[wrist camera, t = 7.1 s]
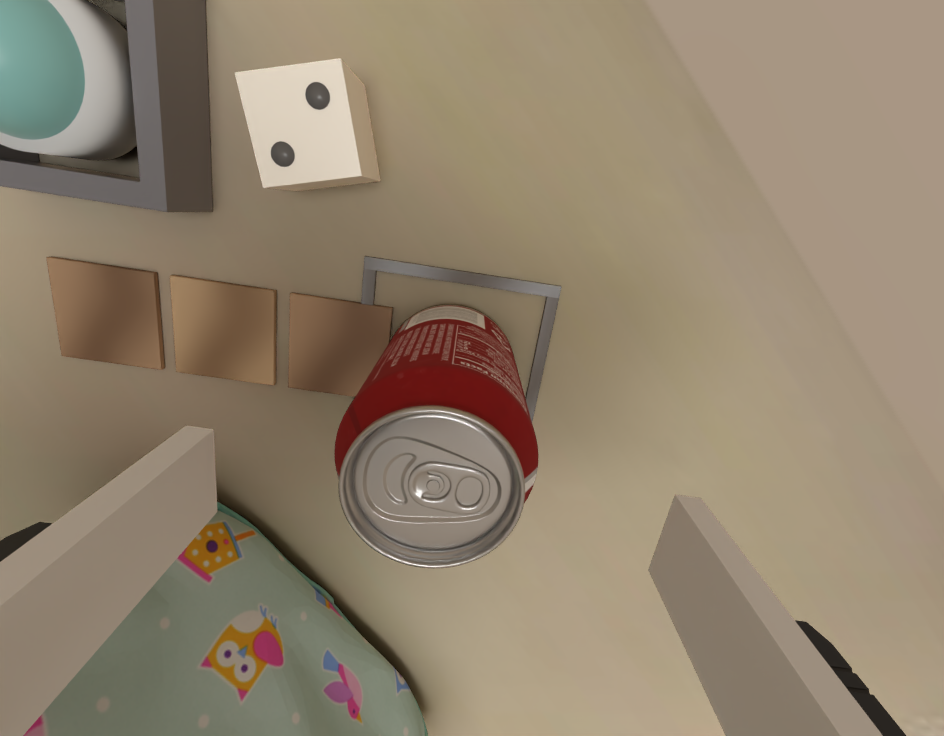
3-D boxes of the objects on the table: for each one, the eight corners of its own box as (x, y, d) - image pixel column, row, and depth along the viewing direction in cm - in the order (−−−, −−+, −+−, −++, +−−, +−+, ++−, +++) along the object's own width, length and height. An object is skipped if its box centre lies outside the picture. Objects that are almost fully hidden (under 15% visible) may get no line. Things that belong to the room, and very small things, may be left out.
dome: (17, 148, 20) (-133, 128, 15) (-10, -19, 18) (-194, -106, 13) (158, 170, 20) (56, 158, 15) (146, 9, 18) (25, -66, 13)
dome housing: (21, 181, 22) (-61, 176, 18) (-18, -52, 19) (-123, -108, 15) (212, 211, 22) (166, 212, 19) (204, -12, 19) (148, -58, 16)
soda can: (399, 289, 23) (329, 364, 12) (526, 316, 24) (575, 414, 12) (380, 406, 26) (306, 565, 14) (497, 429, 26) (515, 600, 15)
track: (72, 394, 25) (68, 397, 25) (44, 206, 22) (38, 206, 22) (524, 455, 26) (524, 458, 26) (560, 286, 23) (561, 287, 23)
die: (299, 191, 22) (262, 187, 18) (278, 97, 21) (233, 72, 17) (380, 181, 22) (361, 175, 18) (365, 85, 20) (340, 57, 17)
